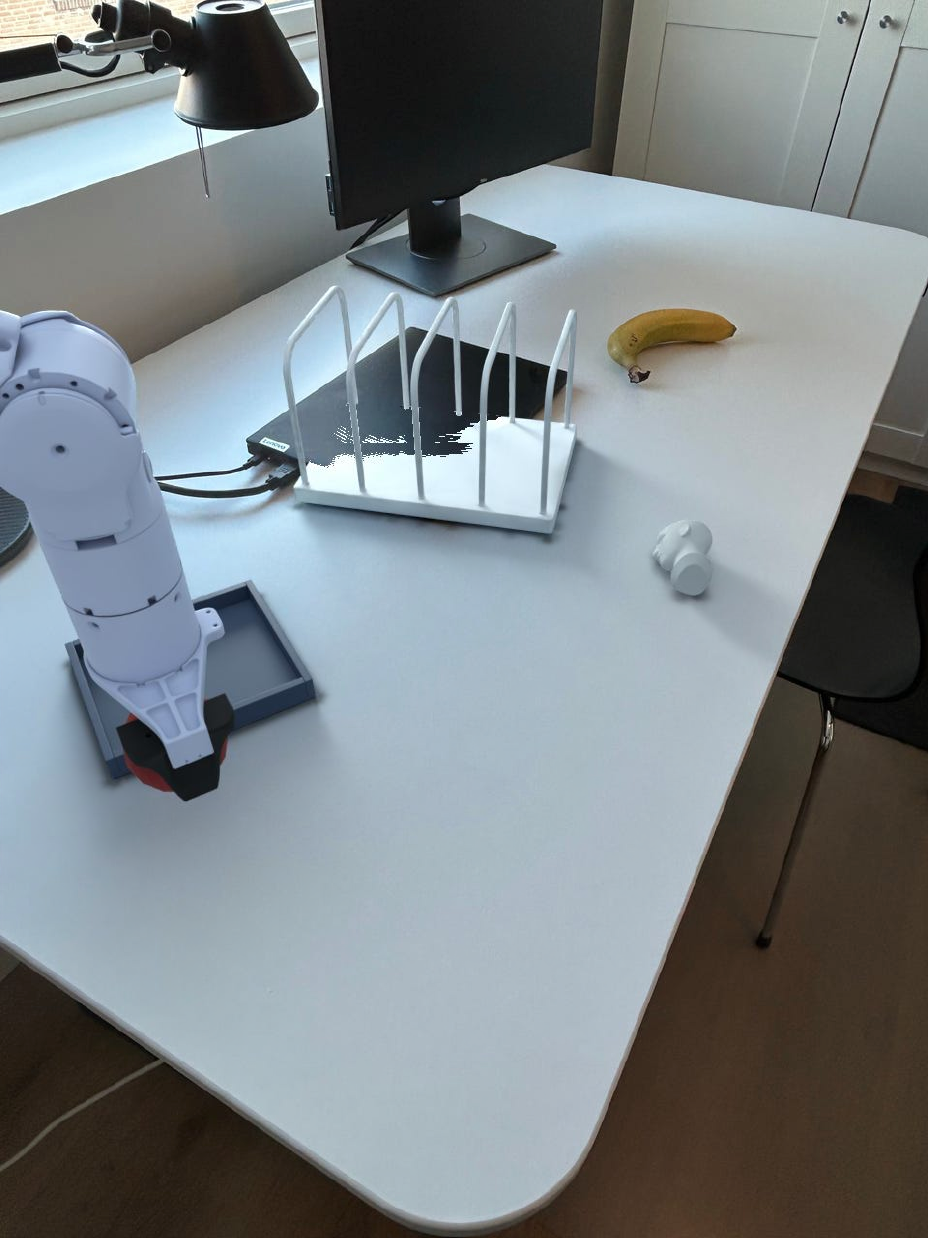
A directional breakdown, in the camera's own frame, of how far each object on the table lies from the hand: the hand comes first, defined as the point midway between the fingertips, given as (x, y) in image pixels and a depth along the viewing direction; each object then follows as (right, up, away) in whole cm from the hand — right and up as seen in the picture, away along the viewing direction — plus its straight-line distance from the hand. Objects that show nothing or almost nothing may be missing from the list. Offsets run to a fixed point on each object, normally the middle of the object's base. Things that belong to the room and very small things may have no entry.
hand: (183, 752), depth 52 cm
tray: (-5, +3, +16) cm, 17 cm away
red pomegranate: (0, -2, +2) cm, 3 cm away
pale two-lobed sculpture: (+35, +12, +25) cm, 45 cm away
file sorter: (+14, +23, +37) cm, 46 cm away
